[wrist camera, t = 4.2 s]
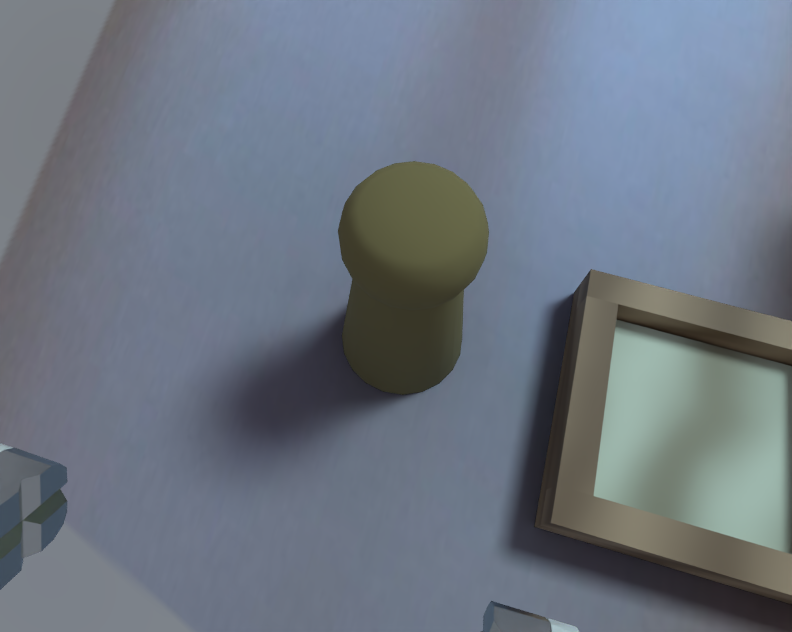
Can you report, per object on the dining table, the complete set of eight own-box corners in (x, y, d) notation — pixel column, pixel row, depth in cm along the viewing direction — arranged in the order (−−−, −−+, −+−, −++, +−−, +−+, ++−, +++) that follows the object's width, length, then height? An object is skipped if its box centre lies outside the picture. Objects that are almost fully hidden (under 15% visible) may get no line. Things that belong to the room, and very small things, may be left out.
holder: (534, 526, 24) (550, 522, 22) (574, 292, 29) (590, 269, 27) (815, 611, 23) (863, 617, 21) (807, 354, 28) (846, 335, 26)
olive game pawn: (389, 262, 29) (395, 106, 19) (484, 324, 28) (544, 190, 18) (317, 348, 27) (282, 221, 17) (417, 419, 26) (442, 327, 16)
